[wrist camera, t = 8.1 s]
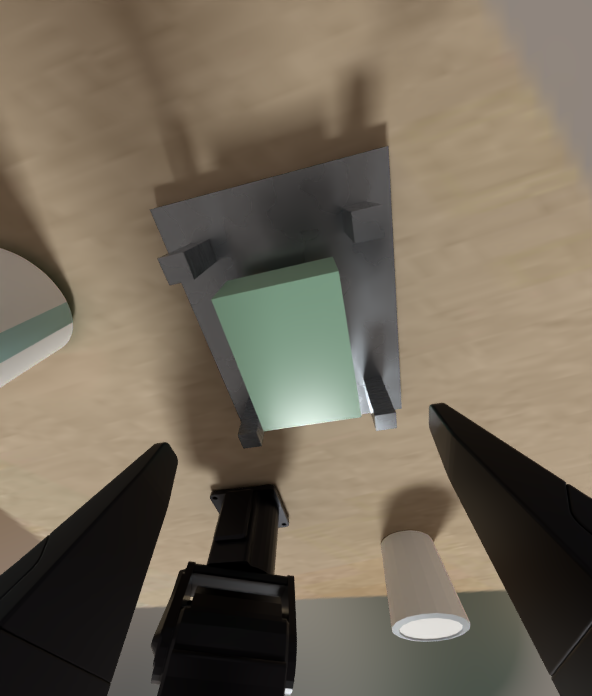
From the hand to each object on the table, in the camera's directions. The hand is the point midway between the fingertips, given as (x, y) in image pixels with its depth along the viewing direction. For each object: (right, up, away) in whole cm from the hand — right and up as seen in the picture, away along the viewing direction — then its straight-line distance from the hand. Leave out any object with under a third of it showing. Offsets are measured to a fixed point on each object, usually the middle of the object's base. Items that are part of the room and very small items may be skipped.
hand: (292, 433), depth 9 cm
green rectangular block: (0, +3, +6) cm, 7 cm away
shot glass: (+12, -19, +22) cm, 31 cm away
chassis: (0, +5, +9) cm, 10 cm away
